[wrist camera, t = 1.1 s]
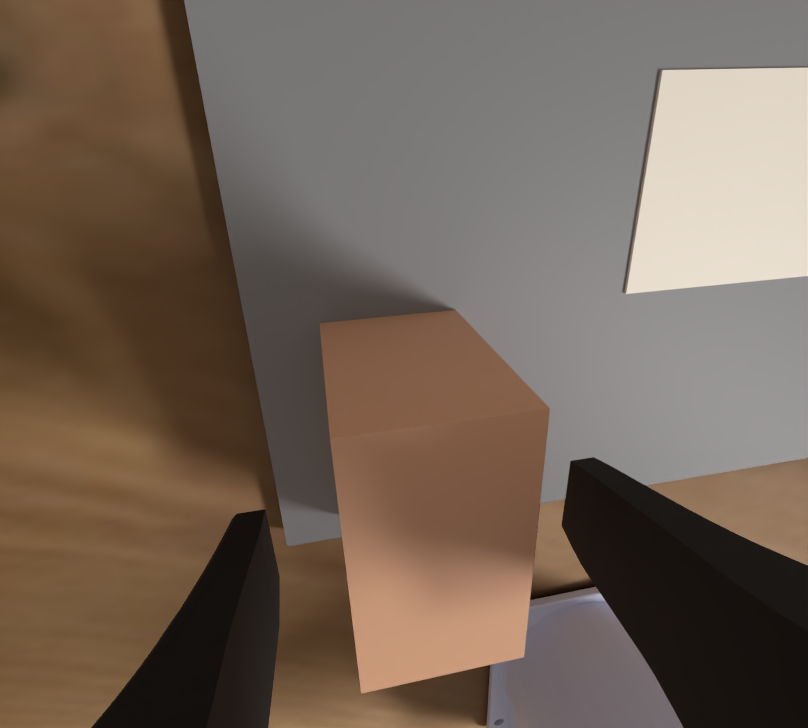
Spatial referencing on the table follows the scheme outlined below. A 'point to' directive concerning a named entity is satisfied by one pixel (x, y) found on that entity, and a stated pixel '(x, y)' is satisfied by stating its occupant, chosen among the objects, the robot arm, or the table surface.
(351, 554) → the block
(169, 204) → the table surface
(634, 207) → the arena
